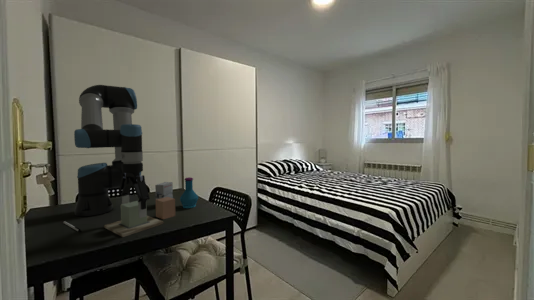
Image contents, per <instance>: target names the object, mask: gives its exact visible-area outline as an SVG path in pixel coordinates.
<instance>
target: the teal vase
mask: <svg viewBox="0 0 534 300" xmlns="http://www.w3.org/2000/svg"><path fill="white" fill-rule="evenodd" d="M193 180H194V177H191V176H190V177H185V178H184V182H185V190H184V191H183V193H182V194H181V195H180V197H179V201H180V203H181V205H182V208H183V209H191V208H195V207H196V206H197V203H198V200H199V195H198V194H197V193H196V192H195V190H194V189H193V186H194V184H193Z"/></svg>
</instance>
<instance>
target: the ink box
mask: <svg viewBox="0 0 534 300" xmlns="http://www.w3.org/2000/svg"><path fill="white" fill-rule="evenodd" d="M173 188H174V186H173V181H164V182H160V183H157V184H155V190H154V191H155V200H156V199H161V198H165V197H170V198H174V194H173V193H174V191H173Z"/></svg>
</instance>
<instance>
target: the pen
mask: <svg viewBox="0 0 534 300" xmlns="http://www.w3.org/2000/svg"><path fill="white" fill-rule="evenodd" d="M62 224H65V225H66V226H68V227H69V228H71V229H73V230H75V231H77V232H80V233H82V230H81V228H80V227H77V226H74V225H73V224H71V223H69V222H67V221H66V220H65V221H62Z"/></svg>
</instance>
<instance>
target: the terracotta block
mask: <svg viewBox="0 0 534 300" xmlns="http://www.w3.org/2000/svg"><path fill="white" fill-rule="evenodd" d="M155 217H156V218H157V219H158V218H159V219H160V220H165V219H169V218H173V217H176V199H175V198H174V197H173V198H170V197H165V198H161V199H156V198H155Z"/></svg>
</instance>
